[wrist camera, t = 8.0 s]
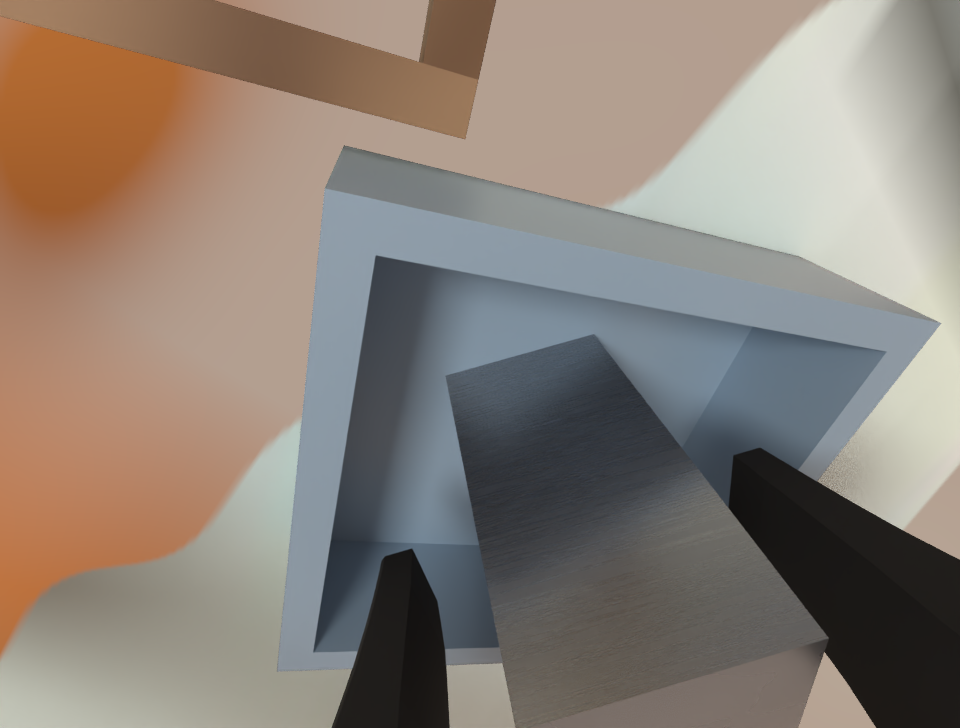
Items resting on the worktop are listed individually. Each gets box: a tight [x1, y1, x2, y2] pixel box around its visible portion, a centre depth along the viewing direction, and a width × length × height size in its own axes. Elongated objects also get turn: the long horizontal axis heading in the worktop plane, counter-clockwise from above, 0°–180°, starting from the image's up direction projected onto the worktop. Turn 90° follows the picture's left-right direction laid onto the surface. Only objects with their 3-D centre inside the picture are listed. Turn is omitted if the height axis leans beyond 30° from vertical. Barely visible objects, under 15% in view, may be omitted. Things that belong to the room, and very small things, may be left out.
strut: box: [445, 334, 829, 728], centre depth 10 cm, size 4×4×8 cm
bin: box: [277, 146, 941, 671], centre depth 13 cm, size 12×12×4 cm
